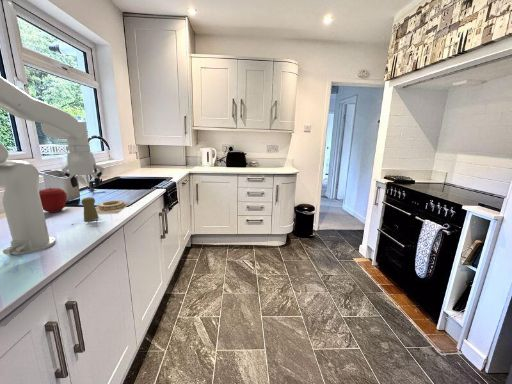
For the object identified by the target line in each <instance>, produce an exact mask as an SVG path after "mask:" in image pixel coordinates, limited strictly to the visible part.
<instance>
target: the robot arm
mask: <svg viewBox="0 0 512 384" xmlns="http://www.w3.org/2000/svg"><path fill="white" fill-rule="evenodd" d="M0 109H1V110H3V111H5V112H6V113H9V114H10V115H12V116H14V117H16V118H18V119H21V120H25V121H29V122H34V123H35V122H36V123H41V127H40V129H41V131H42V133H43V134H44V135H45V136H47V137H48V138H51V139H59V140H61V139H62V140H63V139H64V140H65V139H66V141H67V146H65V150H66V151H68V152H67V155H66V158H67V159H66V161H67V162H66V163H67V166H66V167H65V166H64V167H62V169H61V171H62V173H63V174H64V175H65V176H66V177H67V178H68V179H69V181H70V185H71V187H72V188H76V187H78V185H79V184H78V181H77V177H76V176H88V175H89V176H90V175H92V176H93V177H94V186H95V188H96V187H99V186H101V183H102V182H101V177H102V175H103V174H104V171H105V167H103V166H100V165H99V164H97V163H96V160H95V157H94V155H93V152H92V151H91V149H90V143H89V137H88V132H87V126H86V123H85V121H83V120H78V119H77V118H76V117H74V116H73V115H71V114H70V113H68V112H66V111H65V110H63V109H61V108H59V107H56V106H55V105H51V104H49V103H47V102H44V101H42V100H39V99H36V98H34V97H32V96H31V95H29V94H27V92H25V91H23V90H21V89H20V88H19V87H18V86H15V85H14V84H13V83H11V82H9V81H8V80H7V79H5V78H3V77H2V76H1V75H0ZM8 159H9V151H8V149H7V147H5V145H4V144H3V143H2V142H1V141H0V189H4V193H3V195H2V207H3V209H4V213H5V214H4V215H5V217H6V220H7V224H8V228H9V232H10V236H11V241H10V245H9V247H6V248H5V249H3V250H2V253H3V254H4V255H6V256H7V255H10V254H11V255H21V256H22V255H28V254H32V253H36V252H41V251H42V250H46V249H48V248H50V247H52V246H53V245H54V244H55V243H56V238H55V237H52V236H50V235H49V230H48V226H47V221H46V217H45V213H44V212H45V211H44V210H43V207H42V203H41V199H40V194H39V192H40V173H39V170H38V169H37V168H36V166H34V165H33V164H32V163H30V162H27V161H23V160H16V159H14V160H13V159H12V160H10V159H9V160H8ZM98 170H99V172H98Z"/></svg>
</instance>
